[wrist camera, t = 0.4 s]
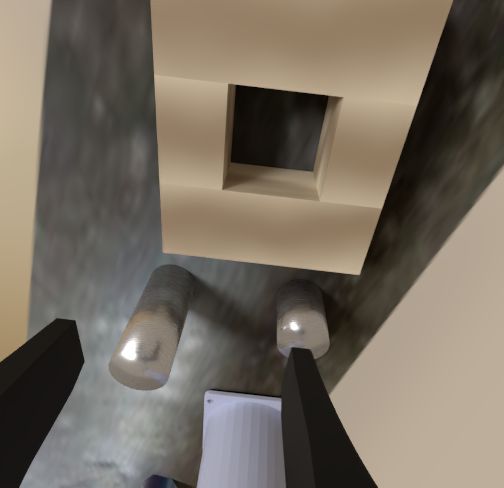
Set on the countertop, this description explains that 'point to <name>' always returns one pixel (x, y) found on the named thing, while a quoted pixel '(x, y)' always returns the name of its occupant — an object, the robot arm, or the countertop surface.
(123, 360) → the long steel pin
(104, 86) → the countertop surface
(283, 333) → the short steel pin
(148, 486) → the white and blue bar
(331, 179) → the birch board
